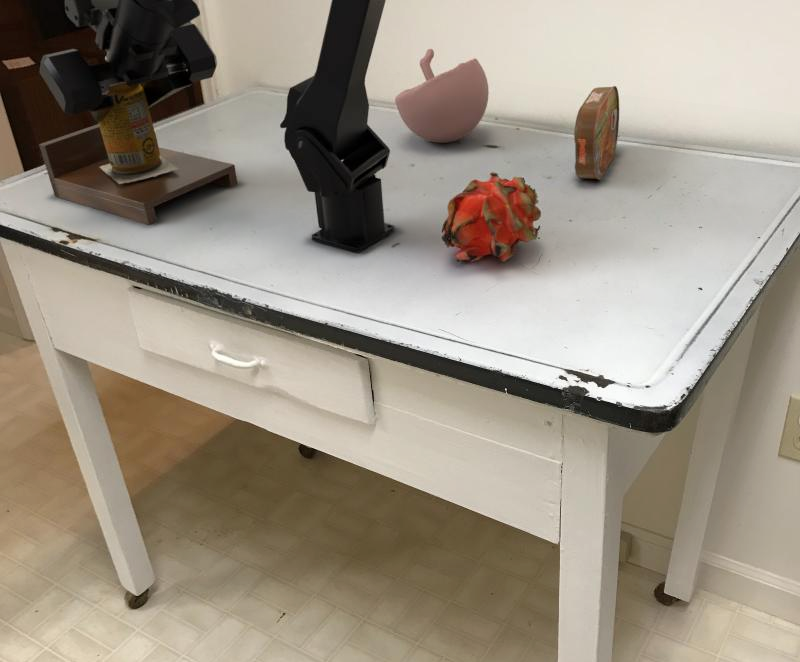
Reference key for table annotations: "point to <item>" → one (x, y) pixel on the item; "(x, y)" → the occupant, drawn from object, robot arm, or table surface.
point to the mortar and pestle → (445, 101)
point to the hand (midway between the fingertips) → (120, 112)
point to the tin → (596, 132)
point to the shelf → (89, 185)
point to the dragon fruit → (491, 218)
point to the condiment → (131, 137)
